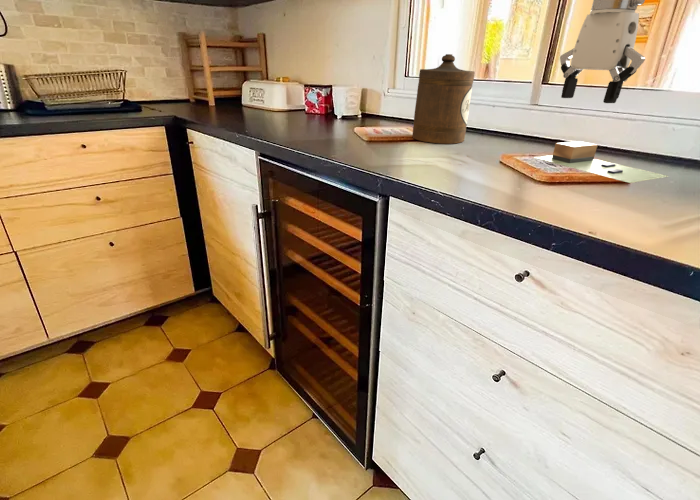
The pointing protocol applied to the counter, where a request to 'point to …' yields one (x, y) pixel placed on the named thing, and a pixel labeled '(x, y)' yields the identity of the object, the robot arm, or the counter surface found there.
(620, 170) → the ink stroke
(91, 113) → the counter surface
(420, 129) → the wooden container
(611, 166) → the ink stroke
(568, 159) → the eraser
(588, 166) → the board
